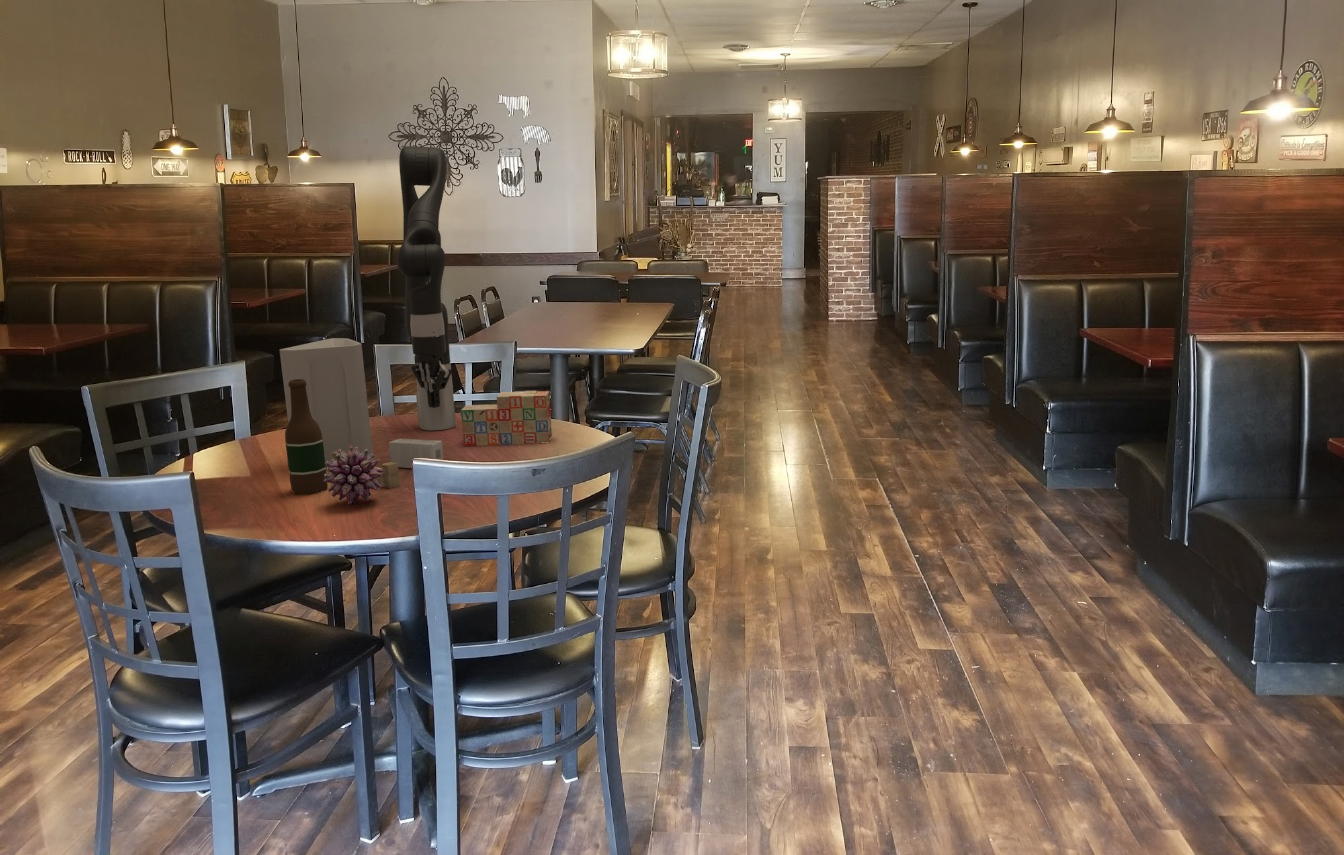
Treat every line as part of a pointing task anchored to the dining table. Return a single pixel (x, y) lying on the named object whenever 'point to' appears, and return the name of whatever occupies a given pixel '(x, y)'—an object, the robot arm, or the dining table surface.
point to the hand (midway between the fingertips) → (434, 406)
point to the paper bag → (332, 391)
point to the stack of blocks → (509, 420)
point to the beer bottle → (304, 444)
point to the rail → (384, 473)
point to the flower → (353, 475)
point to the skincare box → (414, 451)
